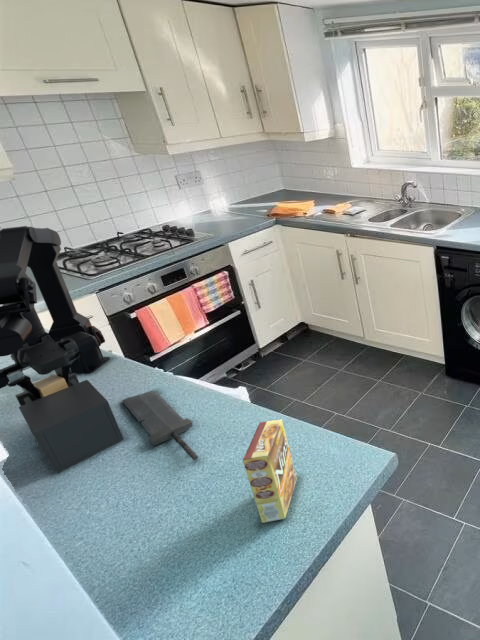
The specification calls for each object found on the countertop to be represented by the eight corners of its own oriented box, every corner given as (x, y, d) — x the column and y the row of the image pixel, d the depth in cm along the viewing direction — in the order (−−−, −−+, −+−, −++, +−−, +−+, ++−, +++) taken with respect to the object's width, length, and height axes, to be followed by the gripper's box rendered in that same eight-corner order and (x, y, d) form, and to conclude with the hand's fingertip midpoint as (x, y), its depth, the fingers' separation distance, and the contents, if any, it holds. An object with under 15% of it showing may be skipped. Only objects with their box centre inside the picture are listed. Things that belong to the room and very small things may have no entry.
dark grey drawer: (26, 419, 97) (9, 387, 93) (81, 395, 104) (67, 366, 101) (46, 449, 89) (29, 416, 85) (104, 421, 96) (91, 390, 93)
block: (37, 399, 92) (29, 384, 91) (60, 388, 96) (54, 373, 94) (47, 404, 91) (40, 389, 89) (71, 393, 94) (64, 378, 93)
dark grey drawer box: (39, 446, 91) (18, 407, 87) (103, 416, 99) (86, 379, 95) (57, 473, 84) (35, 432, 80) (123, 439, 93) (107, 400, 89)
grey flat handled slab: (156, 390, 109) (154, 383, 108) (216, 450, 90) (213, 443, 89) (120, 405, 103) (117, 398, 102) (175, 473, 84) (172, 465, 83)
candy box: (286, 519, 76) (269, 455, 70) (260, 524, 75) (241, 460, 69) (297, 478, 84) (283, 418, 78) (274, 482, 83) (258, 421, 77)
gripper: (-24, 366, 76) (12, 433, 82) (101, 318, 93) (124, 376, 98) (-53, 352, 80) (-17, 417, 86) (71, 308, 96) (95, 365, 102)
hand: (52, 392), depth 93 cm, fingers closed on block, 4 cm apart
